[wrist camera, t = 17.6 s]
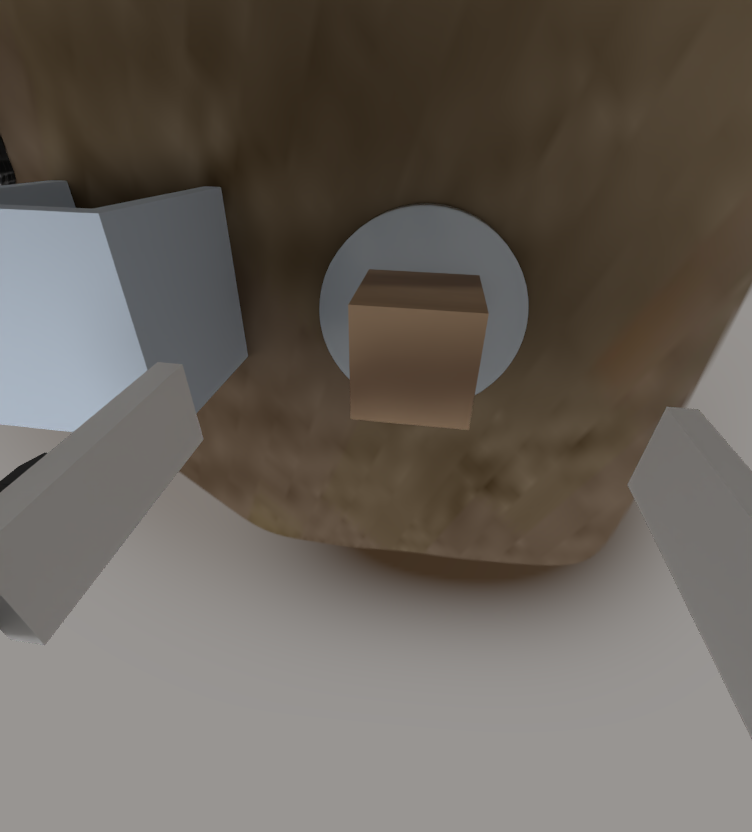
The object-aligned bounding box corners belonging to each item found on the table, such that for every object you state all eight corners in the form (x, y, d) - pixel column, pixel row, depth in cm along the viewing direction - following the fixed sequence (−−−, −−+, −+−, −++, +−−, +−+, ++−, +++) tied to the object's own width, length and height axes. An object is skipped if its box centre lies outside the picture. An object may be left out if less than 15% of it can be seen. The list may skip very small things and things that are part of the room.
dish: (320, 198, 19) (313, 201, 18) (547, 207, 18) (553, 212, 17) (328, 389, 25) (324, 400, 24) (503, 404, 24) (505, 416, 23)
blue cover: (51, 180, 20) (-150, 201, 13) (220, 186, 19) (98, 213, 13) (110, 344, 25) (-17, 422, 18) (248, 356, 24) (170, 442, 17)
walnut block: (369, 269, 19) (348, 304, 15) (479, 275, 19) (488, 313, 15) (368, 366, 22) (350, 419, 18) (464, 374, 22) (468, 429, 17)
